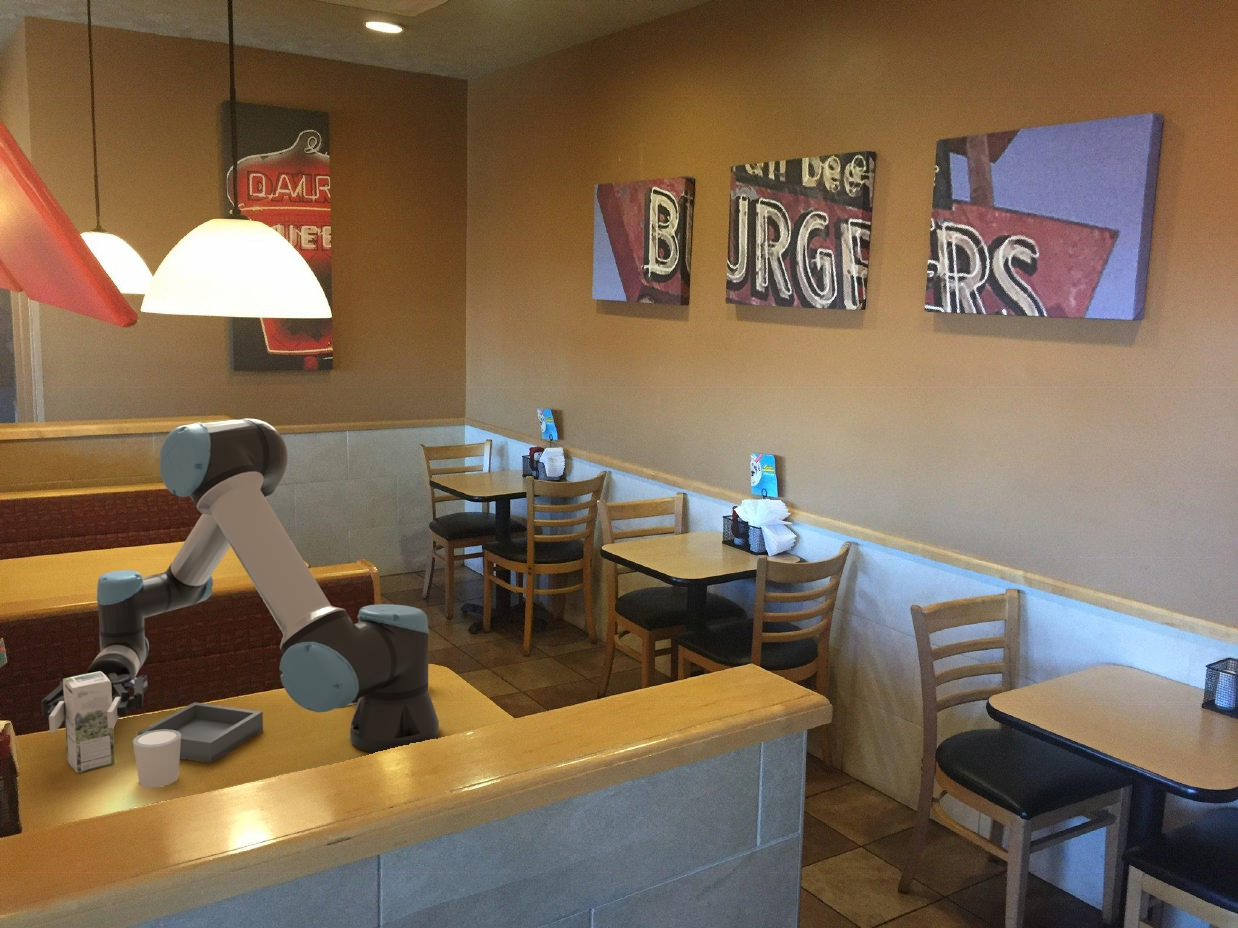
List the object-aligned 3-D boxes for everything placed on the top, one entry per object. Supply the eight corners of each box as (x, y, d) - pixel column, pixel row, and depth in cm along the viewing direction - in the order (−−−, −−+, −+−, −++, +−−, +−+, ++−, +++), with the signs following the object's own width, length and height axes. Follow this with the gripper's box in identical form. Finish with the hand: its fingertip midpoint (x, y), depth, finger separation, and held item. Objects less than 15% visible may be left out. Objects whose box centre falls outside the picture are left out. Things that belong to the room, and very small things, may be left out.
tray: (263, 730, 178) (262, 711, 177) (211, 763, 164) (210, 742, 164) (195, 720, 181) (194, 702, 181) (139, 752, 168) (138, 731, 168)
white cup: (162, 792, 154) (160, 748, 153) (124, 785, 156) (122, 742, 155) (192, 773, 161) (190, 731, 160) (156, 767, 163) (154, 726, 162)
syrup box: (105, 753, 167) (100, 669, 165) (116, 764, 163) (111, 678, 161) (67, 762, 164) (61, 676, 162) (77, 775, 159) (71, 686, 157)
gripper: (175, 688, 183) (153, 738, 161) (49, 697, 177) (9, 751, 155) (173, 648, 181) (151, 693, 160) (47, 656, 176) (6, 704, 154)
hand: (81, 721), depth 157 cm, fingers closed on syrup box, 7 cm apart
